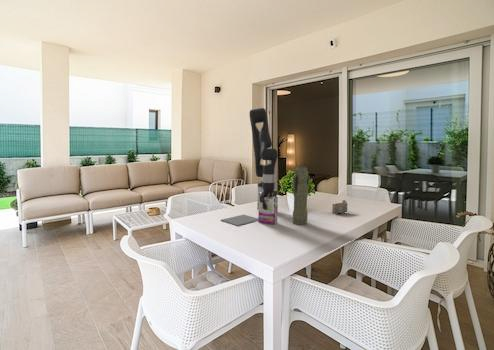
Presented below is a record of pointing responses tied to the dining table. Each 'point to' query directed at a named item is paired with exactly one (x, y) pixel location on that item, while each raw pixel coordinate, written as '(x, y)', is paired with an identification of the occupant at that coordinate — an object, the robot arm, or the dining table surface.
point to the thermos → (300, 195)
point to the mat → (240, 220)
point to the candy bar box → (268, 211)
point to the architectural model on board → (339, 207)
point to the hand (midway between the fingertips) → (268, 208)
